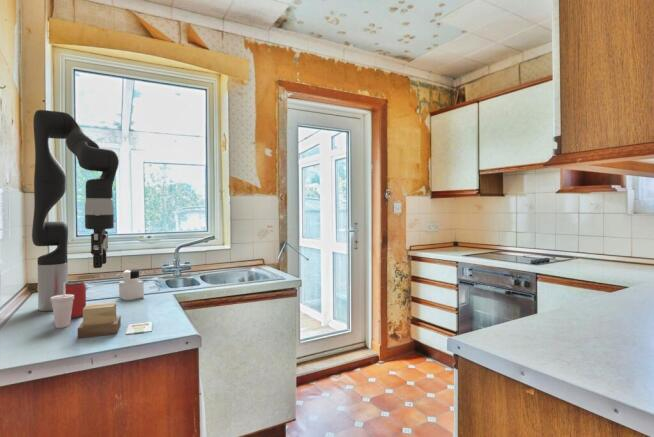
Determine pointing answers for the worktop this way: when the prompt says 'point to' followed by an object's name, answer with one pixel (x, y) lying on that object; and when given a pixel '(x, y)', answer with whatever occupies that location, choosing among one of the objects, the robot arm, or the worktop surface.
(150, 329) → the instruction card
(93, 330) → the base slab
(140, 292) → the medicine bottle
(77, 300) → the beer can
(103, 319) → the oak brick
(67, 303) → the smoothie
